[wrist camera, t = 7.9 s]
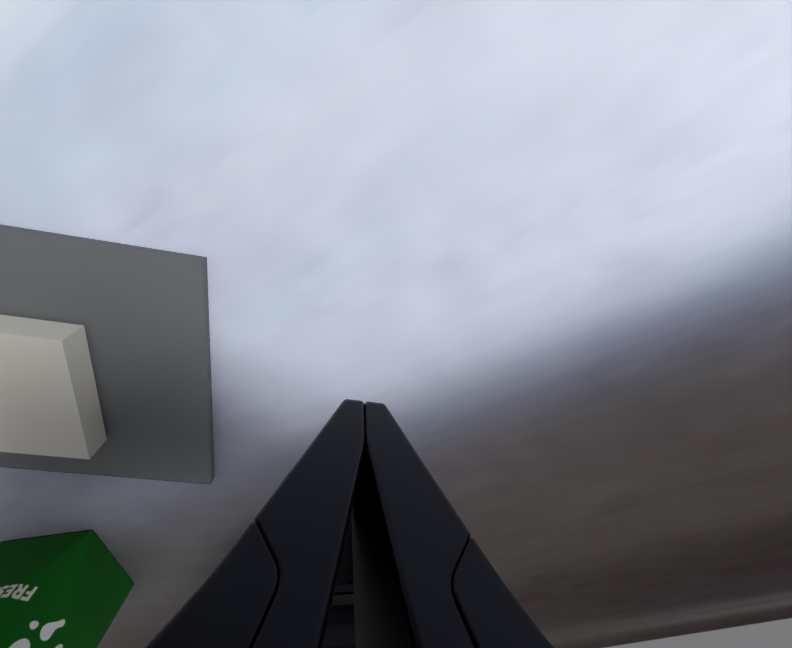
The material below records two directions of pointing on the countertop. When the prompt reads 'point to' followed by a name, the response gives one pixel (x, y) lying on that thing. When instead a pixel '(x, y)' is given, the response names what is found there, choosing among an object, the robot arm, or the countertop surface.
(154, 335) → the mat
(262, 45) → the countertop surface
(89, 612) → the milk carton
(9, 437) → the tile
